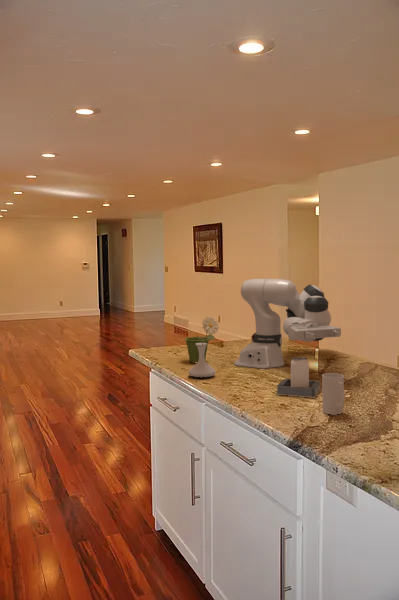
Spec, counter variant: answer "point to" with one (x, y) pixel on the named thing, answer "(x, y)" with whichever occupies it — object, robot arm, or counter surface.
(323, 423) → the counter surface
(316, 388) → the socket block
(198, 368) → the flower in vase
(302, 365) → the can
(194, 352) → the plant pot
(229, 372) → the counter surface
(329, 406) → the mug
